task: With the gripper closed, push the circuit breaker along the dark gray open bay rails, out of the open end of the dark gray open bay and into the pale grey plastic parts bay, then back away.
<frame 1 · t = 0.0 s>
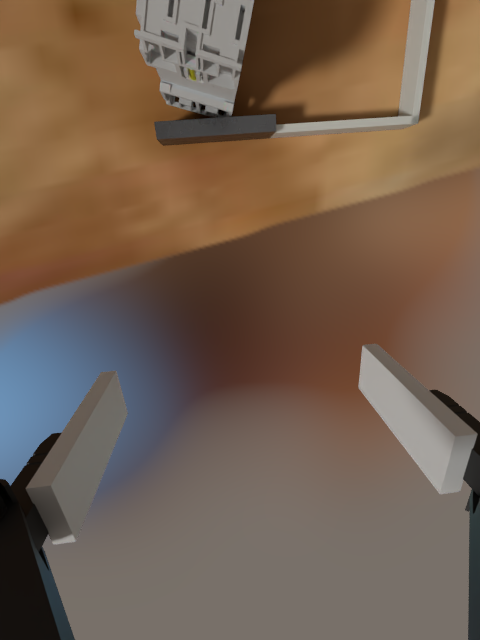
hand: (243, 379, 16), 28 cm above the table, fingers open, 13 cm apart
parts bay: (341, 30, 33), on the table
circuit breaker: (210, 38, 32), on the table
dark gray open bay: (207, 37, 32), on the table
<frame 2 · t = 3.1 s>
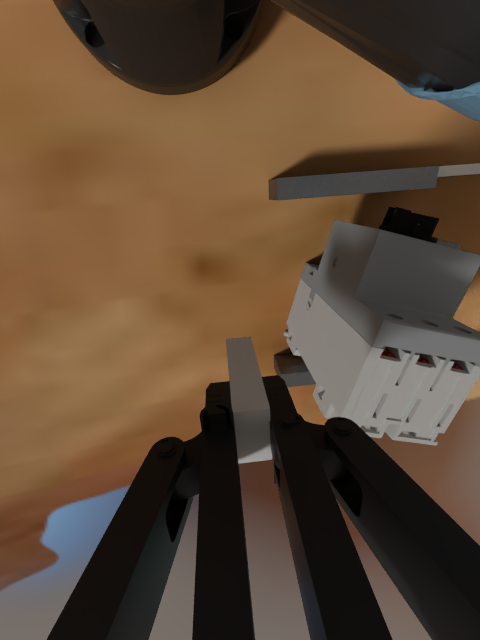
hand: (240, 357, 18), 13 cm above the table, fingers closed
parts bay: (471, 267, 31), on the table
circuit breaker: (335, 279, 31), on the table
dark gray open bay: (333, 279, 31), on the table
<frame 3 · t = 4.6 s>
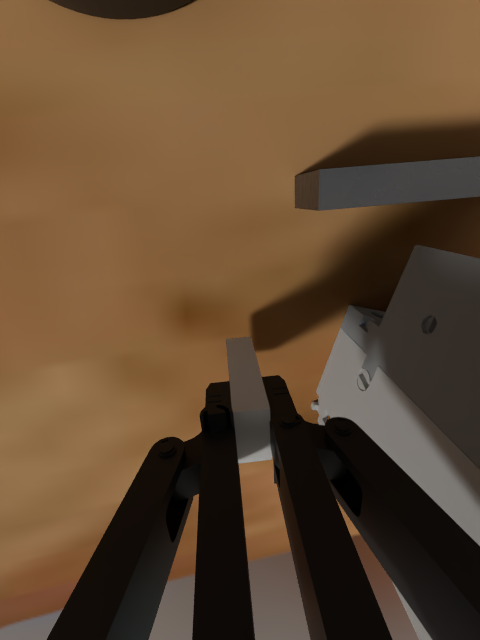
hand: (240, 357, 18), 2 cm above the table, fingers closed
circuit breaker: (392, 327, 20), on the table
dark gray open bay: (390, 329, 20), on the table
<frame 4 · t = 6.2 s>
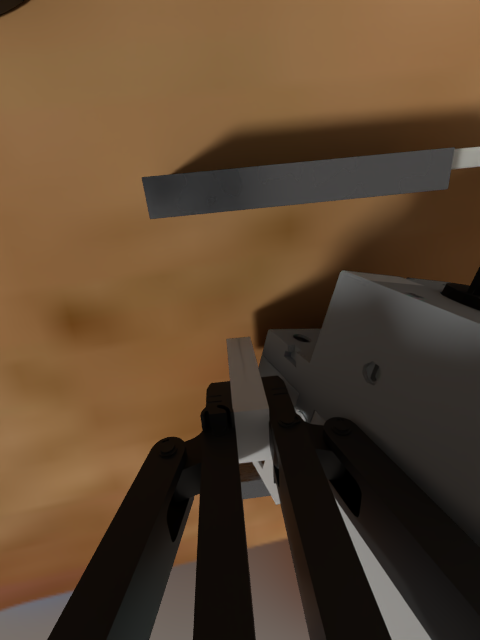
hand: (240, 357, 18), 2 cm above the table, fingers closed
circuit breaker: (313, 341, 19), point 1 cm above the table, touching gripper, hand
dark gray open bay: (286, 334, 20), on the table
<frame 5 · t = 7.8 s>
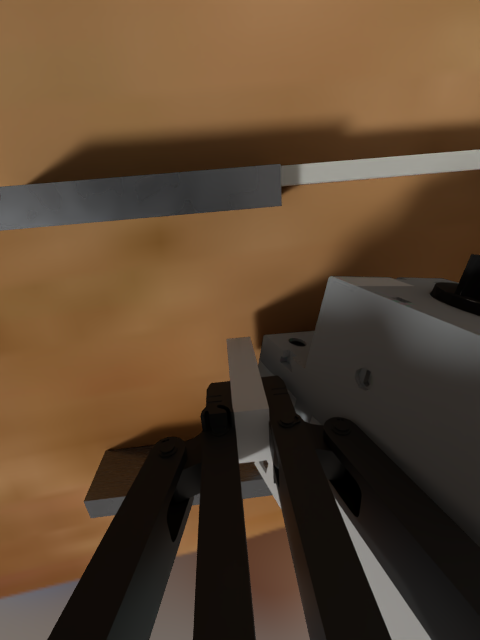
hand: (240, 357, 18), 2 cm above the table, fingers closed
parts bay: (395, 323, 20), on the table
circuit breaker: (310, 343, 19), point 1 cm above the table, touching gripper, hand
dark gray open bay: (173, 346, 19), on the table
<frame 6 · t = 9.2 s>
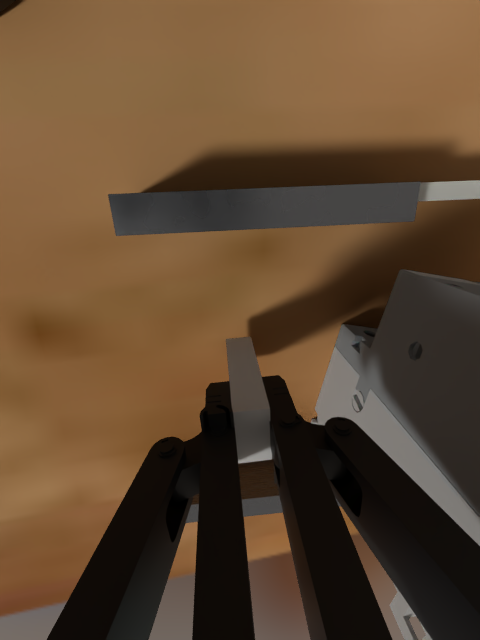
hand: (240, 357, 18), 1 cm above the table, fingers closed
parts bay: (473, 337, 20), on the table
circuit breaker: (387, 342, 20), on the table
dark gray open bay: (259, 353, 19), on the table
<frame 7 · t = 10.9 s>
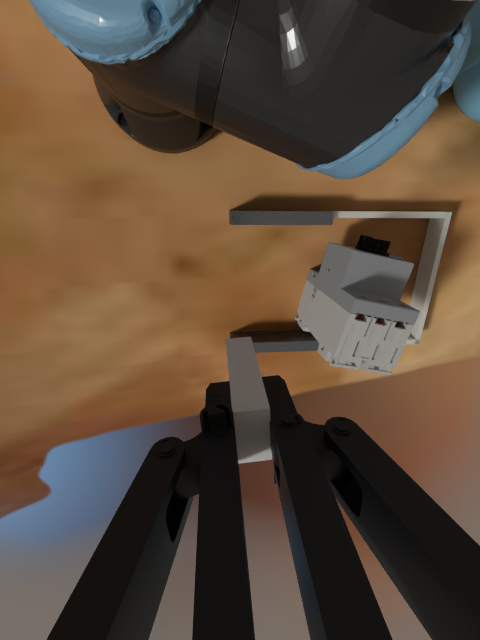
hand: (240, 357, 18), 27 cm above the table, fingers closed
parts bay: (369, 279, 45), on the table
circuit breaker: (330, 280, 45), on the table
dark gray open bay: (273, 280, 44), on the table
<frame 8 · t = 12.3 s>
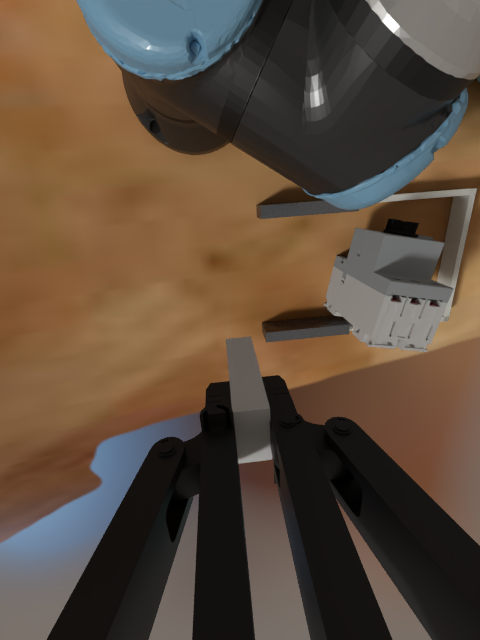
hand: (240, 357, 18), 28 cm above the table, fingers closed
parts bay: (395, 261, 46), on the table
circuit breaker: (357, 264, 46), on the table
dark gray open bay: (301, 269, 45), on the table
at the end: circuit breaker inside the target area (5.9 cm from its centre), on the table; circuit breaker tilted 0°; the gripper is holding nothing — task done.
